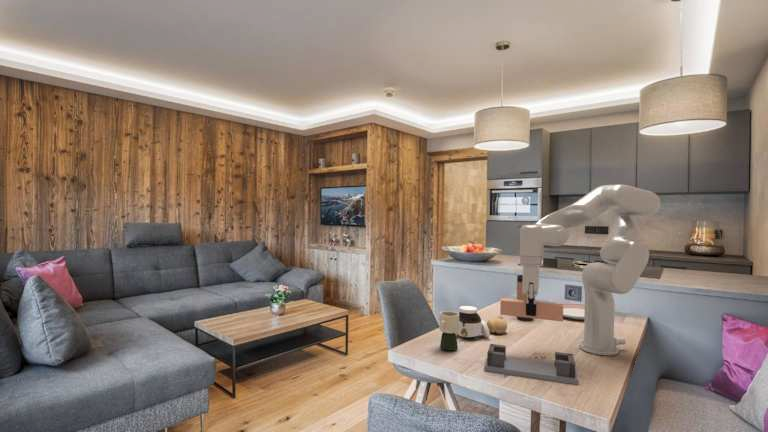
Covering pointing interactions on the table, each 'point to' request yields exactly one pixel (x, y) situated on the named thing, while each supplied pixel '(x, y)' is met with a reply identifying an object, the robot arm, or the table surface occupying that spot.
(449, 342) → the character mug
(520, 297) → the travel mug
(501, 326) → the onion
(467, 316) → the spread jar
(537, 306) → the slat
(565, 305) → the dinner plate
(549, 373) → the board
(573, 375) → the end caps
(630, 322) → the table surface
